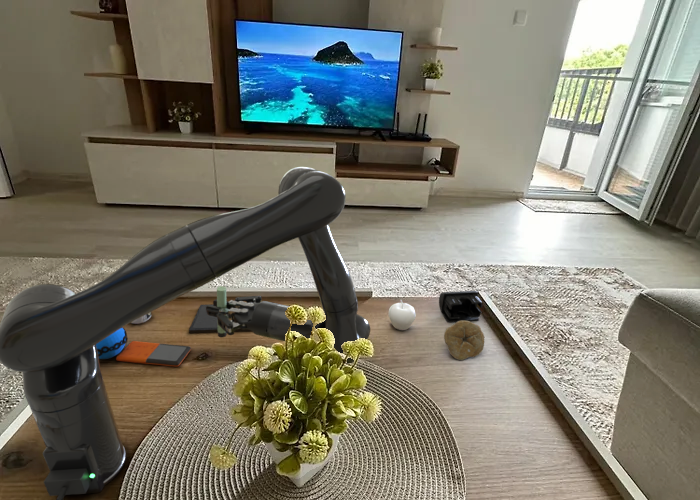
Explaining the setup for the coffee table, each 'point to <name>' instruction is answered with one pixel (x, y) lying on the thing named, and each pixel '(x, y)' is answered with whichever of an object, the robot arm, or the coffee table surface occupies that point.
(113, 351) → the ornament
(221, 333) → the stylus
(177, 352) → the phone
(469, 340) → the fossil
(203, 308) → the tablet
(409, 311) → the apple
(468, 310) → the end cap
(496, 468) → the coffee table surface
